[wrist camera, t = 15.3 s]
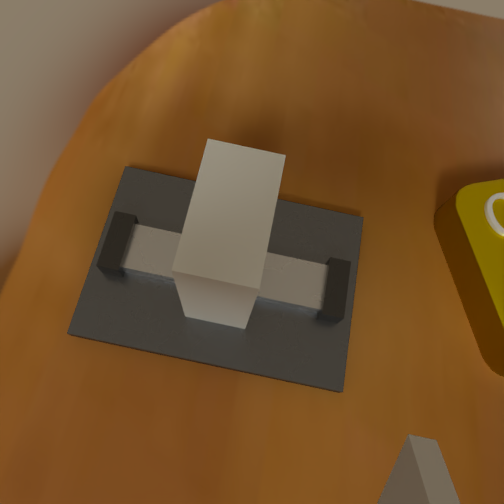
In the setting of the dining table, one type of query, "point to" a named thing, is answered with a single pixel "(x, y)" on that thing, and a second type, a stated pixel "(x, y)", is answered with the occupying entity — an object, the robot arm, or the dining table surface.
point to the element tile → (477, 261)
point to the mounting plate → (267, 301)
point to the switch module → (227, 233)
